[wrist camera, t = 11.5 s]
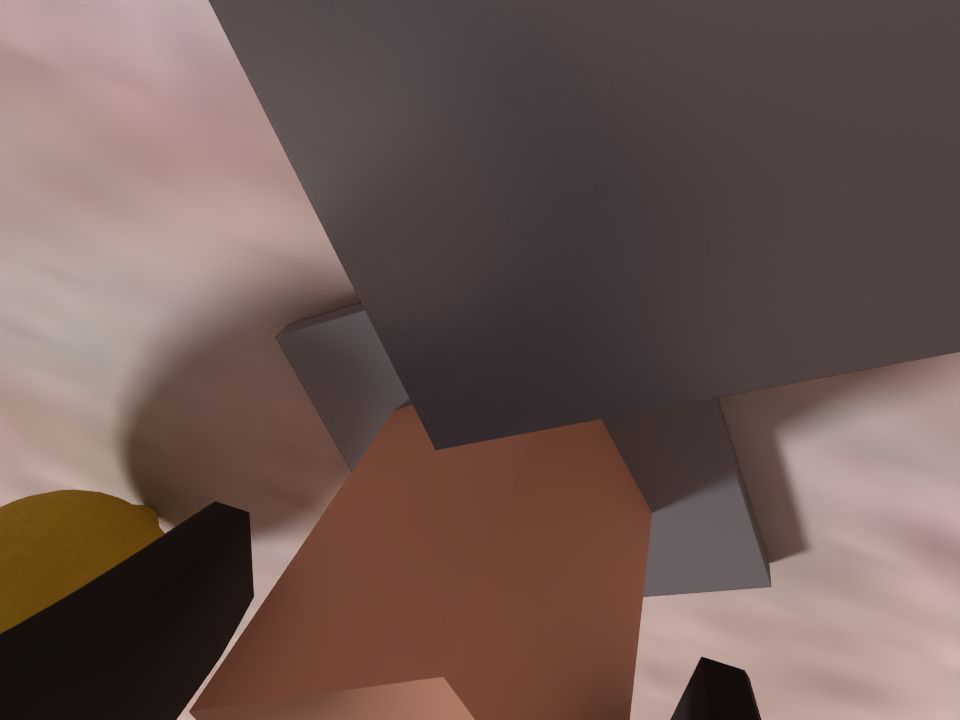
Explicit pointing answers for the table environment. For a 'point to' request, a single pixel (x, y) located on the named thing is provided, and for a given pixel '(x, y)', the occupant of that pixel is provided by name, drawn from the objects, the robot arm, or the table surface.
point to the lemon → (64, 546)
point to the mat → (638, 436)
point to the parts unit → (623, 191)
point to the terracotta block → (455, 588)
